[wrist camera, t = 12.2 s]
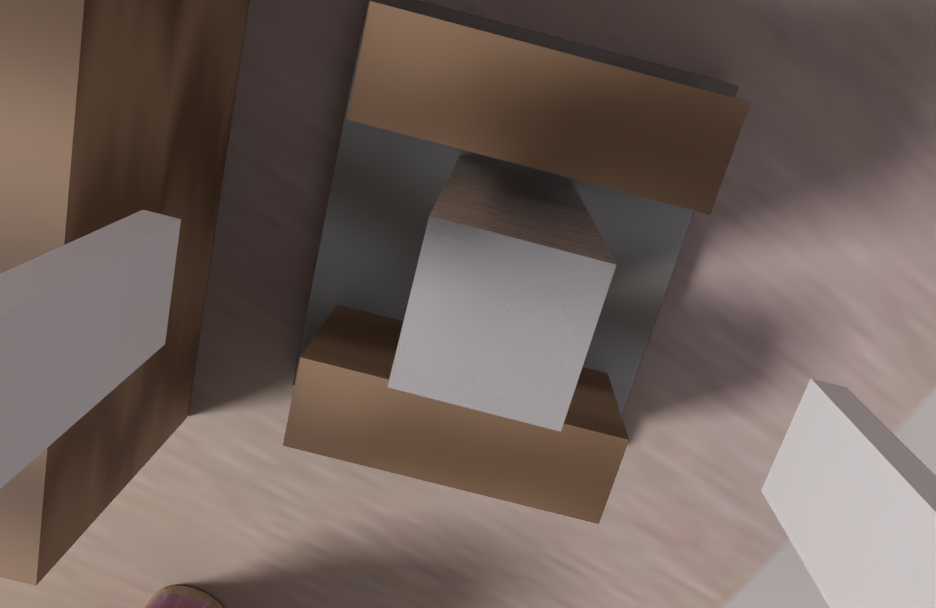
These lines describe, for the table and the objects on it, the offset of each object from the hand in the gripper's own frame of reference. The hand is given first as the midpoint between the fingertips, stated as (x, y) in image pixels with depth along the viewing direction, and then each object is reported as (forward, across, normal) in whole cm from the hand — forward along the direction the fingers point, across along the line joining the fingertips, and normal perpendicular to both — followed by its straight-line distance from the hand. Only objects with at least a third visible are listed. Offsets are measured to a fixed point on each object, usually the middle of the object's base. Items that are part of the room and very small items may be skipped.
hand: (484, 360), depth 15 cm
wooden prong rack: (+12, 0, 0) cm, 12 cm away
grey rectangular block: (+11, 0, 0) cm, 11 cm away
